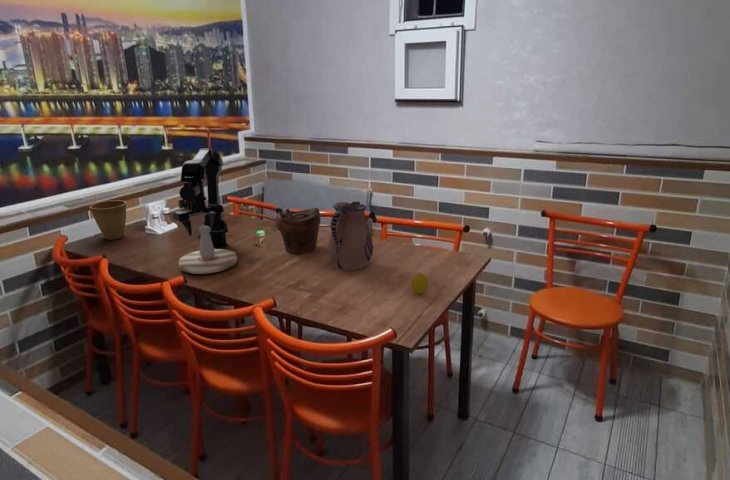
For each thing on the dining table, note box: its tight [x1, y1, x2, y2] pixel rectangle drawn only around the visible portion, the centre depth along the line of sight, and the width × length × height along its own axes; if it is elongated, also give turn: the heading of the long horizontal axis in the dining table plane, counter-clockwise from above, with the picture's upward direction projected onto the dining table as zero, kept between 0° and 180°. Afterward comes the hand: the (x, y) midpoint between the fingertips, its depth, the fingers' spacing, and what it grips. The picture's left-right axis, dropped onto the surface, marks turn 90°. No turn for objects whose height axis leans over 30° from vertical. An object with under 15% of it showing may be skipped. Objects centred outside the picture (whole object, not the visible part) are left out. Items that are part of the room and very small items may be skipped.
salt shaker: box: [198, 225, 215, 260], centre depth 195 cm, size 6×6×13 cm
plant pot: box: [89, 199, 127, 241], centre depth 231 cm, size 15×15×16 cm
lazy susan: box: [178, 248, 238, 275], centre depth 197 cm, size 22×22×6 cm
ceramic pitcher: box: [327, 201, 374, 271], centre depth 191 cm, size 18×21×25 cm
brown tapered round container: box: [275, 207, 322, 255], centre depth 213 cm, size 18×20×18 cm
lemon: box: [411, 272, 429, 295], centre depth 170 cm, size 6×6×8 cm
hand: (201, 233), depth 197 cm, fingers open, 9 cm apart
